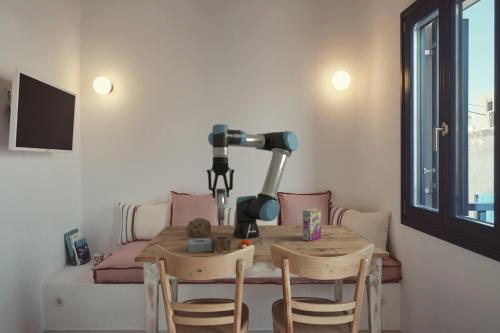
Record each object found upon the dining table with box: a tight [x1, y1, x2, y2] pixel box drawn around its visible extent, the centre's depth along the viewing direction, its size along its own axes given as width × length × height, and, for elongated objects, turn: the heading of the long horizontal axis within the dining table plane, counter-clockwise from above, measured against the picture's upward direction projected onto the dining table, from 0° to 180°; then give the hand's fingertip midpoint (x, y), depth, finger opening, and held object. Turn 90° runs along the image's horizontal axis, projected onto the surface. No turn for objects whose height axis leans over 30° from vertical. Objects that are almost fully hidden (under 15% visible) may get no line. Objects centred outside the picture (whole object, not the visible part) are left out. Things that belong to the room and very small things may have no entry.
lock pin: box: [215, 188, 226, 221], centre depth 165 cm, size 4×4×15 cm
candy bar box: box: [302, 208, 322, 242], centre depth 188 cm, size 11×5×16 cm, turn 134°
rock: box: [185, 217, 212, 238], centre depth 203 cm, size 20×14×10 cm
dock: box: [186, 237, 213, 254], centre depth 168 cm, size 11×11×4 cm
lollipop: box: [237, 225, 256, 249], centre depth 171 cm, size 6×10×12 cm, turn 95°
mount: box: [211, 235, 232, 253], centre depth 166 cm, size 8×8×6 cm
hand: (220, 204), depth 166 cm, fingers closed on lock pin, 4 cm apart
